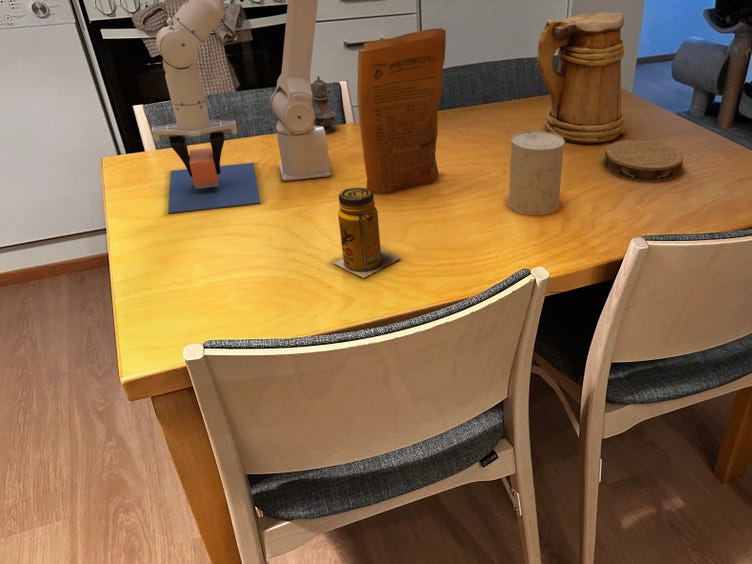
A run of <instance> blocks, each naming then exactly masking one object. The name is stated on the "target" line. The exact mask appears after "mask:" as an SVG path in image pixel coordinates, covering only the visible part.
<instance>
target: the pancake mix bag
mask: <svg viewBox="0 0 752 564" xmlns="http://www.w3.org/2000/svg"><path fill="white" fill-rule="evenodd" d="M446 43H447V31H446V29H443V28H442V27H437V28H429V29H424V30H418V31H413V32H409V33H405V34H402V35H398V36H395V37H390V38H384V39H379V40H371V41H368V42H364V43H363V47H364V49H359V50H358V56H357V67H356V68H357V95H356V96H357V111H358V123H359V129H360V130H359V131H360V138H361V139H360V140H361V145H362V154H363V155H362V156H363V162H364V167H365V169H364V170H365V175H366V187H365V189H369V190H370V191H372V193H373V194H378V195H385V194H391V193H392V194H393V193H395V192H400V191H404V190H407V189H410V188H414V187H418V186H422V185H427V184H431V183H434V182H435V181H437V180H438V178H439V174H440V173H439V168H438V163H437V158H436V151H437V150H436V149H437V141H438V140H437V139H438V135H439V134H438V129H439V127H438V126H439V125H438V124H439V123H438V118H439V117H438V116H439V115H438V112H439V106H440V101H441V95H442V88H443V75H444V65H445V59H446V46H447V44H446Z"/></svg>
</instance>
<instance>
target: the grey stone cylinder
mask: <svg viewBox="0 0 752 564" xmlns="http://www.w3.org/2000/svg"><path fill="white" fill-rule="evenodd" d="M510 142H511V144H510V145H511V147H510V163H509V187H508V189H509V190H508V201H507V204H508V207H509V208H510V209H511V210H512V211H514V212H516V213H518V214H522V215H527V216H544V215H550V214H553V213H554V212H557V210H558V209H559V207H560V204H559V203H560V193H561V180H562V171H563V159H564V149H565V143H566V141H564V139H563V138H562V137H561V136H559V135H557V134H554V133H551V132H548V131H544V130H526V131H521V132H517V133H514V134H513V135H512V137H511V138H510Z"/></svg>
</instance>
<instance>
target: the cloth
mask: <svg viewBox="0 0 752 564" xmlns="http://www.w3.org/2000/svg"><path fill="white" fill-rule="evenodd" d="M220 171H221V174H218V179H219V186H218V187H209V188H199V189H196V188H195V184H194V180H193V177H190V175H189V172H188V170H187V168H186V169H185V168H183V169H176V170H170V179H169V180H170V181H169V196H168V207H167V208H168V210H167V213H168V215H171V214H172V215H173V214H181V213H189V212H198V211H199V212H200V211H207V210H216V209H226V208H235V207H243V206H251V205H260V204H261V200H260V193H259V188H258V183H257V177H256V171H255V165H254V163H253V162H249V163H246V162H245V163H236V164H226V165H220Z"/></svg>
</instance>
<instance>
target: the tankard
mask: <svg viewBox="0 0 752 564" xmlns="http://www.w3.org/2000/svg"><path fill="white" fill-rule="evenodd" d="M624 24H625V17H624V15H623V14H622V12H621V13H619V12H606V11H602V12H600V11H599V12H590V13H583V14H576V15H572V16H569V17H567V18H565V19H564V20H560V19H549V18H548V19H547V20H546V23H545V26H544V27H543V30H542V31H541V34H540V36H539V40H538V45H537V67H538V72H539V74H540V77H541V79H542V82H543V84H544V86H545V88H546V89H547V91H548V94H549V97H550V99H551V105H550V106H551V107H550V108H549V110H548V112H547V113H546V122H545V124H544V128H545V130H546V132H551V133H554V134H557V135H559V136H561V137H562V138H563V139H564V141H565V142H568V143H572V144H573V143H574V144H588V145H589V144H599V143H605V142H609V141H613V140H615V139H617V138H618V137H620V136H621V135H622V134H624V132H625V128H626V127H625V120H624V118H625V117H624V113H623V112H622V59H623V58H624V56H625V50H624V40H623V39H622V38H621V35H622V31H621V29H622V28H623V27H624ZM556 52H557V56H558V57H559V61H558V66H557V70H555V69H554V65H553V62H554V56H555V54H556Z"/></svg>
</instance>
